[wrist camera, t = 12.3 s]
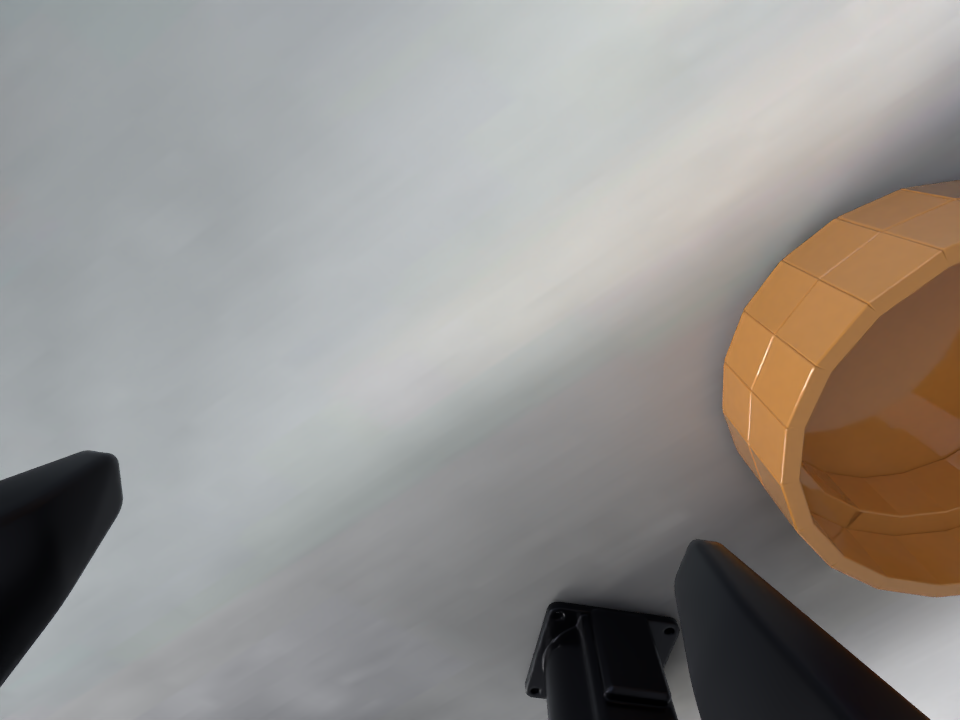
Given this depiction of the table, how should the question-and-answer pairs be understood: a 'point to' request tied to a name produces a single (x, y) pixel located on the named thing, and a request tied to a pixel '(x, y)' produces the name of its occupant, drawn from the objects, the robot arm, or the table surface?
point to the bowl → (861, 390)
